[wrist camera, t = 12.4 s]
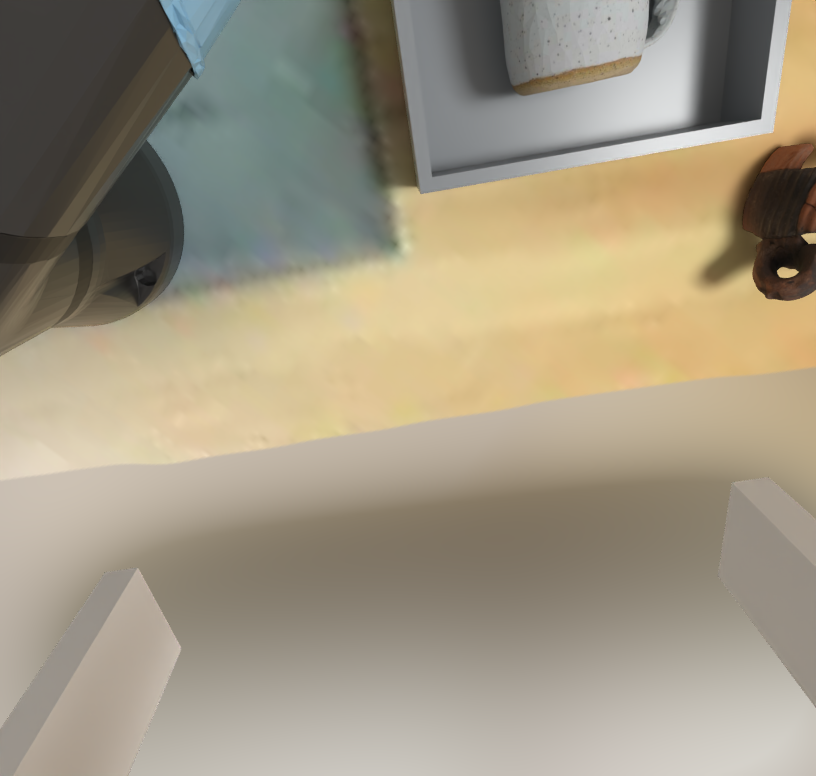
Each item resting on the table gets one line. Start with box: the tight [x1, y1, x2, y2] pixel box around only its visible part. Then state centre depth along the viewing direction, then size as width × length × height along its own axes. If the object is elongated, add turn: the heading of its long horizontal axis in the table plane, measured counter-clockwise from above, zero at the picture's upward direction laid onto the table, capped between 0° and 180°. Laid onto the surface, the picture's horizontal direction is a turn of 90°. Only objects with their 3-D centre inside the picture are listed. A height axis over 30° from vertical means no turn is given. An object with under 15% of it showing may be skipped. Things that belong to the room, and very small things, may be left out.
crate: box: [391, 0, 792, 194], centre depth 28 cm, size 21×17×5 cm
